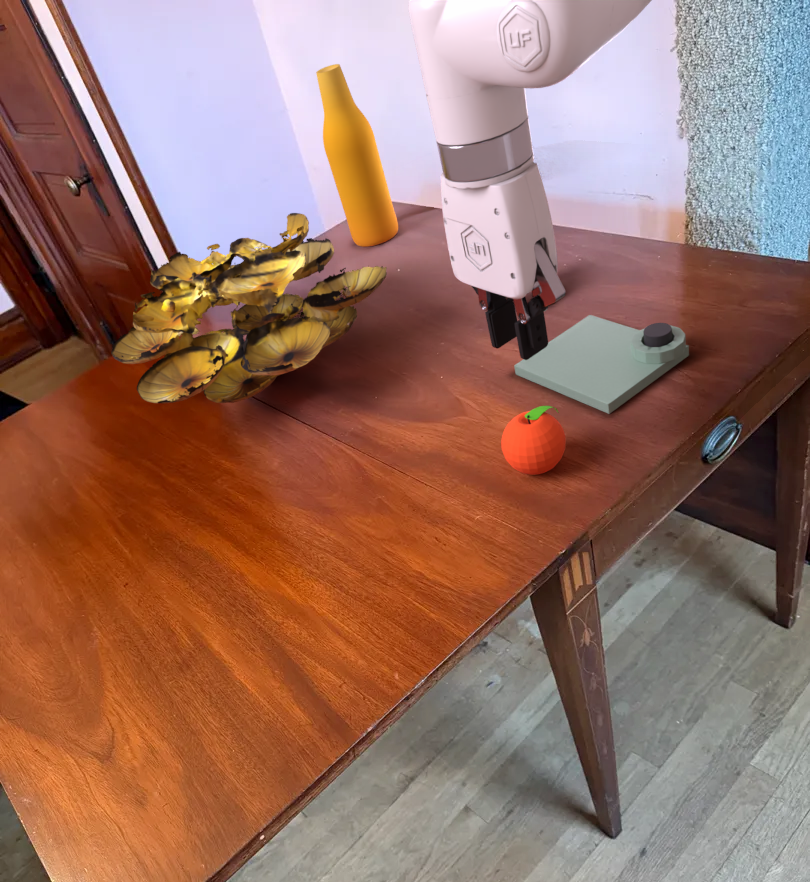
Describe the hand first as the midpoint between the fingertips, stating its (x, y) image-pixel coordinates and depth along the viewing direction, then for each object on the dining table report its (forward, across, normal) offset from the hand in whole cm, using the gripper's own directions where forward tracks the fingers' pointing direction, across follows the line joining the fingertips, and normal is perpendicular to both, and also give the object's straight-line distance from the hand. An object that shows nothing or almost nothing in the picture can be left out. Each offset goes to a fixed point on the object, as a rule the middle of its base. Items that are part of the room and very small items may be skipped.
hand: (519, 345), depth 73 cm
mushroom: (+15, -52, -8) cm, 55 cm away
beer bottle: (+15, -76, +30) cm, 83 cm away
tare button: (+13, -3, +23) cm, 26 cm away
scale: (+15, -8, +18) cm, 25 cm away
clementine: (+15, 0, 0) cm, 15 cm away
